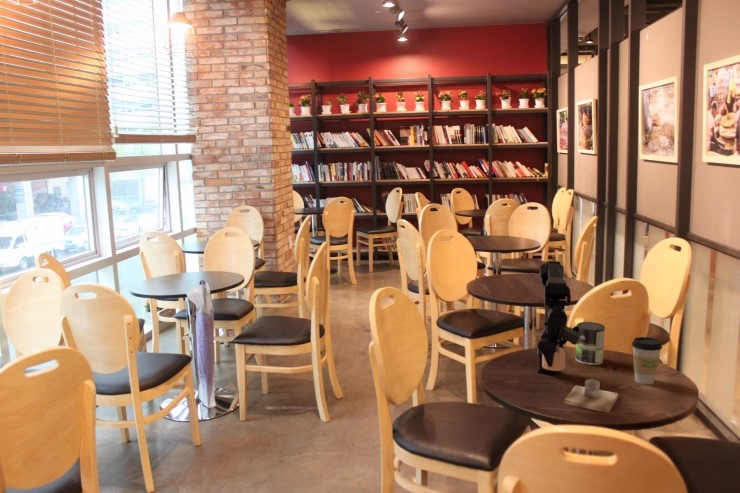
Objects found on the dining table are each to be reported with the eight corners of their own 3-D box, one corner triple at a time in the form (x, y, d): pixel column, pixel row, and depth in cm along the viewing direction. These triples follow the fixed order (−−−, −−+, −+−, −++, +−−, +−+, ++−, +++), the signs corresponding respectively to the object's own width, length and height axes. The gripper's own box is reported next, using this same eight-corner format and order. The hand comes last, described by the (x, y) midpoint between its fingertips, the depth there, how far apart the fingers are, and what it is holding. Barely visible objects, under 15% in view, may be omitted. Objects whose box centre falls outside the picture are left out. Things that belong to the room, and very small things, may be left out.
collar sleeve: (539, 368, 216) (540, 351, 215) (546, 361, 222) (546, 345, 221) (561, 372, 212) (561, 354, 211) (567, 365, 218) (567, 348, 217)
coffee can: (582, 365, 244) (584, 330, 242) (571, 356, 254) (572, 322, 252) (608, 364, 245) (610, 328, 243) (595, 355, 256) (597, 321, 253)
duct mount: (564, 403, 210) (565, 384, 209) (575, 389, 222) (576, 371, 221) (608, 412, 203) (609, 393, 202) (618, 397, 214) (619, 379, 213)
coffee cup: (657, 388, 222) (660, 346, 219) (627, 383, 227) (629, 342, 224) (661, 379, 230) (664, 339, 227) (632, 374, 235) (634, 334, 233)
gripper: (572, 329, 203) (570, 376, 205) (586, 315, 218) (584, 359, 221) (537, 324, 208) (535, 370, 211) (554, 311, 224) (552, 354, 227)
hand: (553, 363), depth 217 cm, fingers closed on collar sleeve, 7 cm apart
